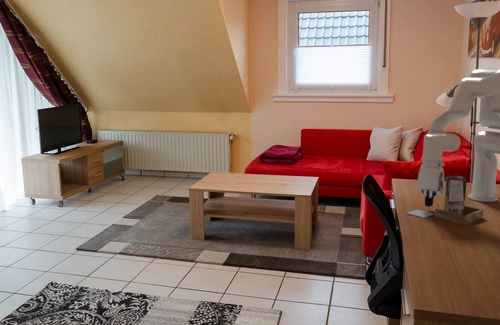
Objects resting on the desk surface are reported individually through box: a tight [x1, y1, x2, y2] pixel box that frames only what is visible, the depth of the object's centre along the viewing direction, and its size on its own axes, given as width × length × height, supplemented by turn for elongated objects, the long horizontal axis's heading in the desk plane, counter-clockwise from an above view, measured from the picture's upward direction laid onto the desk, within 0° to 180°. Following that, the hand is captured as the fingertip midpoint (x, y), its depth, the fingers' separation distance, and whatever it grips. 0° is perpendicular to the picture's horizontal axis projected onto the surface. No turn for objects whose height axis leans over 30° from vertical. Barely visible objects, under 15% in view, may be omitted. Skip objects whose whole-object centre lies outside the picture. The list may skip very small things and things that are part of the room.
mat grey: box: [406, 209, 435, 219], centre depth 202 cm, size 8×8×1 cm
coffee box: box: [443, 175, 468, 215], centre depth 198 cm, size 9×6×16 cm
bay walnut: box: [434, 205, 484, 226], centre depth 197 cm, size 14×13×4 cm
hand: (428, 205), depth 208 cm, fingers closed
